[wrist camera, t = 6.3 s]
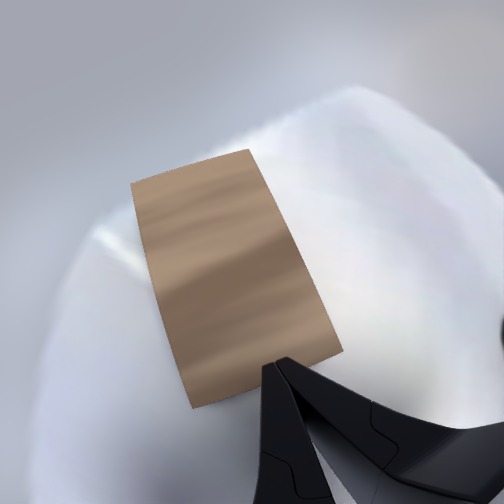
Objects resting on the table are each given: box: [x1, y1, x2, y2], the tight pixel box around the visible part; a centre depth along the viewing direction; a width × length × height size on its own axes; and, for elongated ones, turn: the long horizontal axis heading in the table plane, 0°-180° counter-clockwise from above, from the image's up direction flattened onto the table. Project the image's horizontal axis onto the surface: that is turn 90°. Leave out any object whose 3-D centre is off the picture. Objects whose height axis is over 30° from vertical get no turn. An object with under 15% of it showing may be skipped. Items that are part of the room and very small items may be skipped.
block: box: [131, 149, 343, 409], centre depth 16 cm, size 4×7×12 cm
